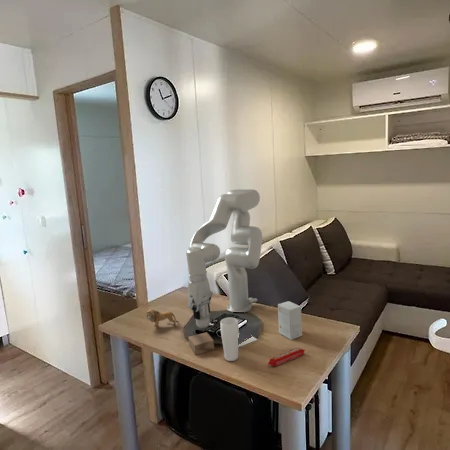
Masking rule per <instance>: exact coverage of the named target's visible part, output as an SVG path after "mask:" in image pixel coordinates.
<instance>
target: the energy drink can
mask: <svg viewBox="0 0 450 450" xmlns="http://www.w3.org/2000/svg"><path fill="white" fill-rule="evenodd" d="M195 308H196V305H195ZM198 311H200V320H198V319H195V325H196V326H197V328H200V329H202V328H203V329H204V328H208V327H209V326H210V324H211V321H210V319H211V318H210V313H209V309H208V300H207V296H206V295H204V296H203V297H202V299H201V304H199V309H198Z"/></svg>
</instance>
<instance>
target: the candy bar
mask: <svg viewBox="0 0 450 450" xmlns="http://www.w3.org/2000/svg"><path fill="white" fill-rule="evenodd" d="M305 351H306V350H305V349H303V348H301V347H295V348H292V349H290V350H288V351H285V352H282V353H280V354H278V355H276V356H273V357H270V359H268V360H269V361H268V362H267V365H270V366H271V367H278V366H280V365H283V364H285V363H287V362H290V361H292V360H294V359H297V358H299V357H302V356H303V355H305Z"/></svg>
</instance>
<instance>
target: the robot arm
mask: <svg viewBox="0 0 450 450" xmlns="http://www.w3.org/2000/svg"><path fill="white" fill-rule="evenodd" d="M260 199H261V196H260V193H259V192H258V190H256V189H251V188H250V189H243V188H242V189H240V188H239V189H231V190H228V192H227V193H223V194H221V195H220V196H219V197H218V198H217V201H216V203H215V206H214V207H213V210H212V213H211V215H210V217H209V219H208V221H207V222H205V223H204V224H203V225H201V226H200V227H199V228H198V229H197V230H196V231H195V233H194V234H193V236H192V238H191V241H190V243H189V245H188V249H187V251H186V263H187V272H188V279H189V280H188V281H187V299H188V300H187V301H188V303H187V308H188V309H190V310H191V311H192V312H193V314H192V315H193V319H194V320H196V319H198V320H200V311H198V309H199V304H201V299H202V297H203V296H204V295H206V296H207V300H208V309H209V314H210V313H211V307H210V305H211V300H212V297H213V292H212V291H211V288H210V287H211V286H210V282H209V279H208V275H207V265H206V263H211V262H214V261H216V260H217V259H218V258H219V257H220V255H221V249H220V247H219V246H218V245H217V244H215V243H208V242H205V241H206V240H207V239H208V238H209V237H211V236H213V235H215V234H217V233H220V232H222V231H225V230H226V228H227V227H228V224H229V221H230V219H231V216H232V224H231V230H230V231H231V232H230V233H231V234H230V241H231V243H233V244H234V245H238V246H233V247H232V246H231V247H229V248H227V249H226V251H224V252H225V254H224V261H225V266H226V271H227V279H228V297H229V298H228V299H229V303H228V304H227V305H226V309H227V311H228V312H229V313H233V312H244V313H247V312H249V311H251V310H252V308H253V305H252V304H254V303H257V302H258V299H257V298H254V297H249V287H248V272H247V271H246V269H255V268H257V267H258V266H259V264H260V259H261V253H262V245H263V244H262V243H263V233H262V230H261V228H260V227H258V226H251V225H250V223H251V215H250V212H249V211H250V210H252V209H254V208H256V207H257V206H258V205H259V202H260ZM239 245H240V246H247V247H248V248H247V247H239ZM195 305H196V308H195Z"/></svg>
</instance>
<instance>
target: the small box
mask: <svg viewBox="0 0 450 450" xmlns="http://www.w3.org/2000/svg"><path fill="white" fill-rule="evenodd" d="M277 315H278V318H277V319H278V321H277V322H278V334H281V335H283V337H285V338H287V339H289V340H290V341H291V340H295V339H297V338H300V337H302V336H303V323H302V321H303V320H302V306H300V305H298V304H296V303H294V302H291V301H290V300H289V301H283V302H282V303H278V304H277Z"/></svg>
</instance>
